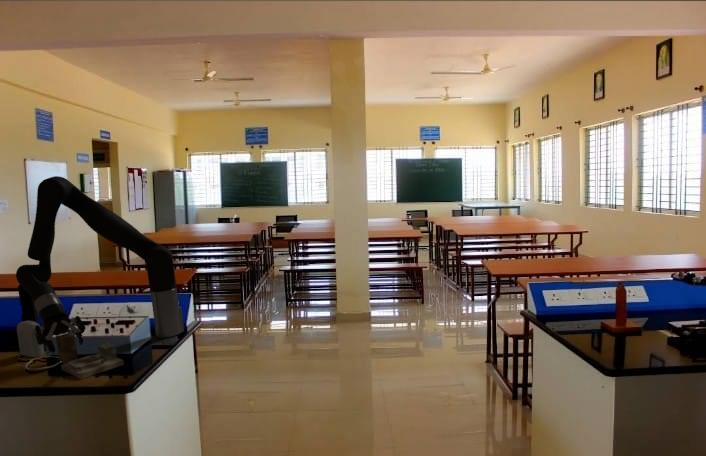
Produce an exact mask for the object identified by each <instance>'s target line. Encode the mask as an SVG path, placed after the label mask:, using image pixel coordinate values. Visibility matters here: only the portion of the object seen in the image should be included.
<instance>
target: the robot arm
mask: <svg viewBox="0 0 706 456" xmlns="http://www.w3.org/2000/svg"><path fill="white" fill-rule="evenodd" d="M61 205H63V206H64V207H66V208H68V209H69V210H71V211H73V212H75V213H76V214H77V215H78V216H79V217H80V218H81V219H82V220H83V221H84V222H85V223H86V225H87V226H88V227H89V228H90V229H91V230H92V231H94V232H95V233H96V234H97V235H99V236H101V237H102V238H104V239H105V240H107V241H109V242H111V243H113V244H114V245H117V246H119V247H121V248H124V249H126V250H128V251H130V252H133V253H134V254H135V255H137V256H138V257H139V258H141V260H143V261H144V262H145V264H146V265H145V266H146V271H147V272H146V273H147V279H148V285H149V290H150V298H151V305H152V313H153V321H154V322H153V323H154V330H155V337H157V338H163V339H164V338H170V337H174V336H177V335H180V334H181V333H184V332H185V327H184V321H183V320H184V318H183V312H182V311H183V310H182V306H180V305H179V296H178V290H177V289H178V288H177V279H176V274H175V266H174V256H173V252H172V251H171V250H170V249H169V248H168V247H165V246H164V245H163V244H160V243H158V242H156V241H154V240H152V239H151V238H149V237H147V236H146V235H144V234H143V233H142V232H141V231H139V230H138V229H137V228H136V227H134V225H132V224H131V223H130V222H128V221H127V220H125V219H124V218H123V217H121V216H119V215H118V214H116V213H115V212H114V211H112V210H110V209H108V208H107V207H106V206H104V205H102V204H101V203H100V202H98V201H96V200H95V199H92V198H91V197H89V195H86V194H85V193H84V192H83V191H82V190H81V189H79V188H78V187H77V186H76V185H75V184H73V182H71V181H70V180H68V179H67V178H65V177H62V176H58V175H57V176H51V177H48V178H45V179H43V180H42V181H41V182H40V183H39V184H38V186H37V193H36V210H35V211H36V212H35V219H34V225H33V228H32V229H33V230H32V233H31V238H30V241H29V246H28V249H27V257H28V258H29V259H31V260H33V261H38V264H23V265H20V266H19V267H18V268H17V270H16V272H15V278H16V281H17V283H18V285H21V286H22V287H23V288H24V289H25V290H26V291H27V292H28V293H29V294H30V295H31V297H32V299H33V301H34V304H35V307H36V310H37V314H38V318H40V319H39V320H40V322H41V323H42V326H41V327H39V326H35V330H34V333H35V336H36V339H37V341H38V344H39V345H41V344H44V345H46V347H47V349H48V351H49V352H50V353H52V354H53V353H56V347H55V345H54V342H53V340H52V338H53V336H55V337H56V336H59V335H63V334H67V333H70V334H73V335H75V338H76V337H78V339H79V342H78V344H79V343H80V345H79V346H82V345H83V344H82V343H84V342H83V339H82V337H81V336H83V334H84V333H85V332H86V329H87V328H86V326H85V324H84V322H83V320H82V319H81V317H80V316H79V315H76V316H75V317H73V318H69V316H68V314H67V312H66V309H65V307H64V306H63V303H62V301H61V300H60V297H59V296H58V295H57V293H56V291H55V289H54V287H53V285H52V284H51V283H48V282H49V281H50V279H51V278H52V266H51V265H52V262H51V255H52V250H53V246H54V242H55V236H56V234H55V233H56V219H57V215H58V212H59V210H60V207H61ZM42 331H43V332H46V333H48V334H47V336H46V338H45V337H44V335H43V336H42ZM83 332H84V333H83ZM81 344H82V345H81Z"/></svg>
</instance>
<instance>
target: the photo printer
mask: <svg viewBox="0 0 706 456" xmlns="http://www.w3.org/2000/svg"><path fill="white" fill-rule="evenodd" d="M35 326H39V327H42V326H41V325H40V323H39V324H37V323H36V322H33V321H24V322H22V321H20V322H19V323H18V324H17V325H16V334H17V335H16V336H17V340H18V341H17V342H18V349H19V353H20V355H21V356H25V357H30V358H40V357H42V356H44V355H45V352H46V351H45V344H41V345H39V344H38V341H37V339H36V336H35V333H34V330H35Z"/></svg>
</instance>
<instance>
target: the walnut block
mask: <svg viewBox="0 0 706 456" xmlns="http://www.w3.org/2000/svg"><path fill="white" fill-rule="evenodd" d="M55 340H56V346H57V354H58V361H59V360H60V361H62V363H63V364H62V365H64V364H66V363H67V362H70V361H74V360H77V359H79V357H78V349H77V344H76V336H75V335H73V334H70V333H67V332H66V333H65V334H60V335H58V336H56V335H55Z"/></svg>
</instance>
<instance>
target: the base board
mask: <svg viewBox="0 0 706 456" xmlns="http://www.w3.org/2000/svg"><path fill="white" fill-rule="evenodd" d="M97 350H98V353H97V354H94V355H93V354H91V355H87V356H84V357H81V358H80V357H79V358H78V359H77V360H74V361H70V362H67V363H66V364H61V371H63V372H65V373H67V374H69V375H71V376H73V377H75V378H78V379H80V380H83V379H86V378H88V377H91V376H95V375H97V374H101V373H103V372H106V371H109V370H113V369H115V368H119V367H122V366H124V365H125V362H124V359H121V358H118V355H117V348H116V345H114V344H110V343H109V342H106V343H102V344H100V345H97Z"/></svg>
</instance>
